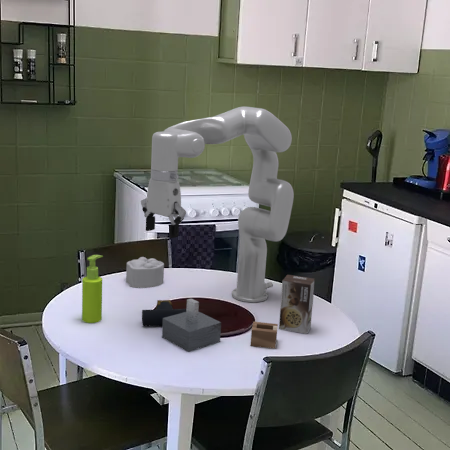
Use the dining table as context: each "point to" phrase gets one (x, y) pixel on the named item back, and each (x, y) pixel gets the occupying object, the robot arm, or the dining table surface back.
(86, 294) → the soap dispenser
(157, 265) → the lumpy-topped squat cylinder
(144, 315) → the pipe connector
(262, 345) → the brown small box
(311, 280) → the brown grey upright box
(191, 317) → the block
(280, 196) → the robot arm
